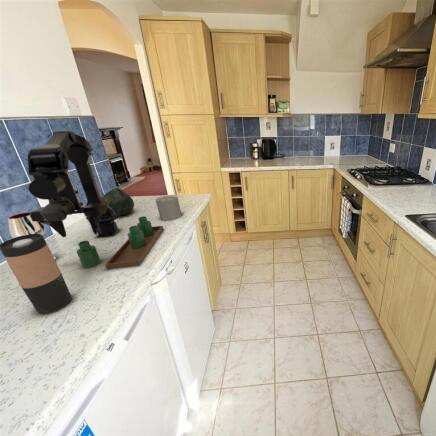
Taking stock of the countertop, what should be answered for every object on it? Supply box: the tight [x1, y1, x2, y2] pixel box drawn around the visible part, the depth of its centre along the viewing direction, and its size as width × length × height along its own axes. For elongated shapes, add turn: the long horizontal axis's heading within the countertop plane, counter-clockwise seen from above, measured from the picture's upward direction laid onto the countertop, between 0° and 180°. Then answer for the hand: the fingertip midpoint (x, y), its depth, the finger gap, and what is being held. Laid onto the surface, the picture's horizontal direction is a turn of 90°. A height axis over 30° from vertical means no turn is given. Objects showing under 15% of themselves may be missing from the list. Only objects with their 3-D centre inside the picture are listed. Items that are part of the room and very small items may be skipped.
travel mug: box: [0, 234, 73, 315], centre depth 63 cm, size 8×8×20 cm
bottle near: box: [136, 215, 154, 238], centre depth 102 cm, size 5×5×8 cm
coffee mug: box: [155, 194, 182, 221], centre depth 123 cm, size 13×10×10 cm
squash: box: [101, 187, 135, 217], centre depth 125 cm, size 14×15×15 cm
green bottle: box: [76, 240, 102, 269], centre depth 83 cm, size 5×5×8 cm
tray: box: [104, 225, 165, 270], centre depth 95 cm, size 10×29×2 cm, turn 11°
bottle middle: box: [127, 225, 146, 249], centre depth 94 cm, size 5×5×8 cm
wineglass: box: [7, 211, 57, 261], centre depth 83 cm, size 8×8×18 cm
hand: (80, 235), depth 80 cm, fingers open, 9 cm apart
